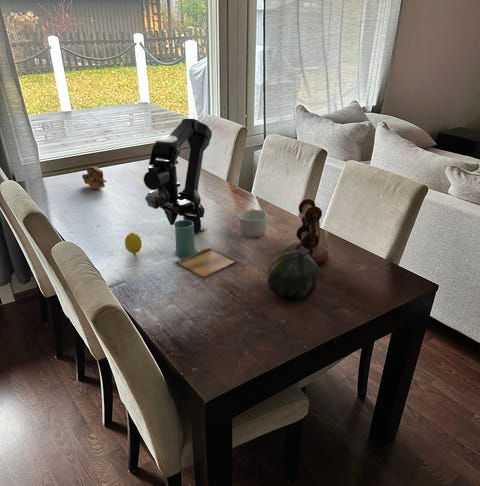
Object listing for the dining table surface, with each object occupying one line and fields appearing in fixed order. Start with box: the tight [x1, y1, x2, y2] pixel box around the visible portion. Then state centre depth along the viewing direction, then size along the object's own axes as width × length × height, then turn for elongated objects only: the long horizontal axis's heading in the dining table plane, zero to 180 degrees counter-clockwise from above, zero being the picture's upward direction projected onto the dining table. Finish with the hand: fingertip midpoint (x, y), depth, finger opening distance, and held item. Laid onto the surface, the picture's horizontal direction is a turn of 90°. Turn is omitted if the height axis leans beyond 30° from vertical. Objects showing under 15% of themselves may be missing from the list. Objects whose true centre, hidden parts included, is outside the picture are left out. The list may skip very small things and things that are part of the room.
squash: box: [267, 251, 320, 300], centre depth 126 cm, size 14×15×15 cm
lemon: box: [124, 232, 143, 255], centre depth 148 cm, size 6×6×8 cm
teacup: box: [237, 207, 269, 238], centre depth 164 cm, size 14×11×8 cm
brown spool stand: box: [283, 198, 329, 265], centre depth 143 cm, size 15×15×20 cm
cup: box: [174, 219, 196, 258], centre depth 148 cm, size 6×6×11 cm
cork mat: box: [176, 246, 236, 278], centre depth 144 cm, size 13×14×1 cm
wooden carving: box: [81, 166, 107, 190], centre depth 205 cm, size 16×5×10 cm, turn 55°
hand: (171, 224), depth 150 cm, fingers closed
